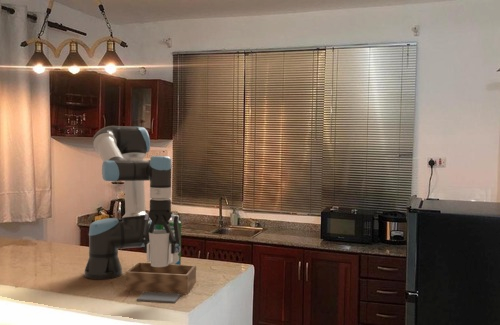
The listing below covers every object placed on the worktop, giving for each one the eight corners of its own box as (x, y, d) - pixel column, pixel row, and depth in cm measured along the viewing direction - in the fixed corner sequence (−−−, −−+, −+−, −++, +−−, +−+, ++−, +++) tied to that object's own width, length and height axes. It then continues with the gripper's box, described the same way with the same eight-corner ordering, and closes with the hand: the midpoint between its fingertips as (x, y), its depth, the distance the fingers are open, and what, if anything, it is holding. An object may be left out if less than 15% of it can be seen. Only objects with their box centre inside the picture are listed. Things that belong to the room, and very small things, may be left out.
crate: (125, 290, 168) (125, 272, 168) (138, 279, 182) (139, 262, 182) (187, 293, 166) (187, 275, 166) (195, 282, 180) (196, 265, 179)
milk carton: (159, 277, 185) (160, 218, 184) (154, 272, 193) (154, 215, 192) (180, 275, 189) (181, 217, 188) (174, 269, 197) (174, 214, 196)
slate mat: (136, 300, 158) (136, 299, 158) (144, 293, 166) (144, 291, 165) (174, 302, 156) (174, 301, 156) (180, 295, 164) (180, 293, 164)
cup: (150, 261, 164) (150, 229, 163) (171, 261, 165) (172, 229, 164) (146, 267, 156) (147, 234, 155) (169, 267, 157) (170, 234, 156)
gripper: (129, 199, 157) (128, 263, 158) (185, 200, 155) (184, 265, 155) (136, 196, 164) (136, 258, 165) (190, 198, 162) (189, 260, 163)
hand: (159, 261), depth 160 cm, fingers closed on cup, 7 cm apart
